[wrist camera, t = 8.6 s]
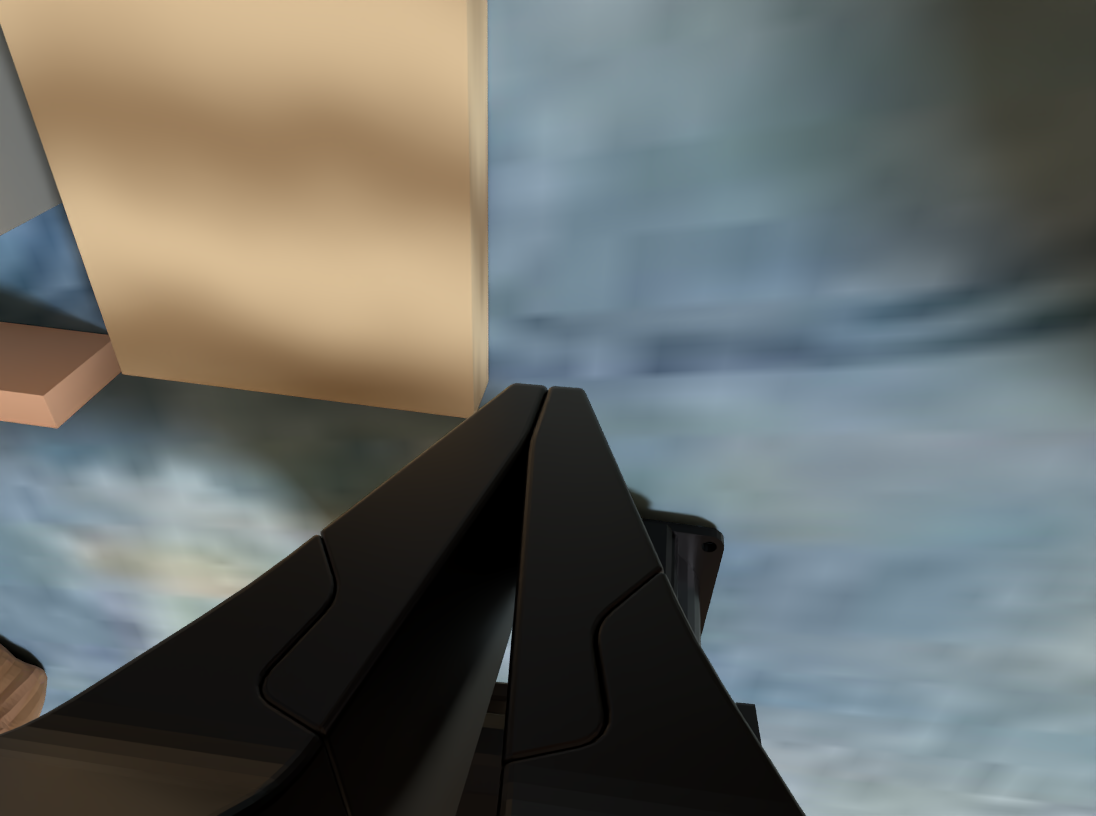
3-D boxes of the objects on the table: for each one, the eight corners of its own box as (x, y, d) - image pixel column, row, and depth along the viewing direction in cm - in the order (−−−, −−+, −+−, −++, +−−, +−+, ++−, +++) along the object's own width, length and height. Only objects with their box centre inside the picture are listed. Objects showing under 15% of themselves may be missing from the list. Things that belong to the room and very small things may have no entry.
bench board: (488, 381, 23) (473, 419, 22) (159, 341, 25) (122, 374, 23) (487, -188, 15) (463, -194, 14) (-9, -212, 16) (-85, -221, 15)
